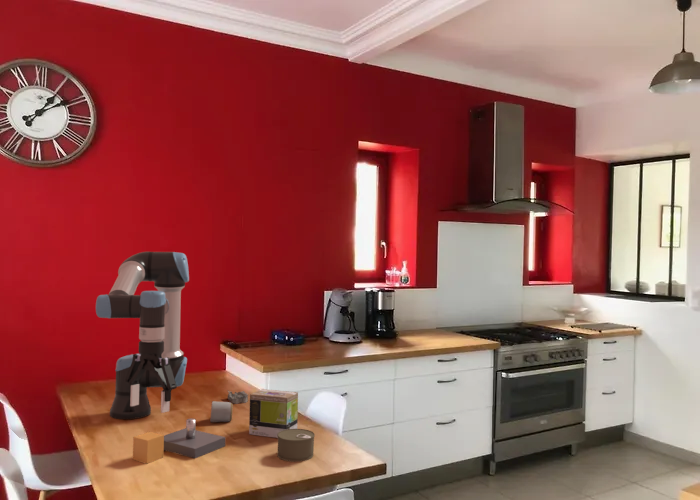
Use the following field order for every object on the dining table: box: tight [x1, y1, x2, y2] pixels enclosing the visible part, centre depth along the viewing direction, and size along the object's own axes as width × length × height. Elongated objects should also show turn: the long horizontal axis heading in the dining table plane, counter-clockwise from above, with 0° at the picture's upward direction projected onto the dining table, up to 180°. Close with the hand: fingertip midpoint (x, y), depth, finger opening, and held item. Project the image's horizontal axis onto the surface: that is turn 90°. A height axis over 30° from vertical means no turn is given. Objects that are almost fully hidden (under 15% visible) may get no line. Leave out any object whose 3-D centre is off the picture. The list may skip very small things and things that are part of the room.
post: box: [185, 418, 197, 439], centre depth 191 cm, size 3×3×6 cm
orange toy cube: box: [132, 431, 165, 464], centre depth 179 cm, size 6×6×7 cm
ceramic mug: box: [210, 400, 234, 423], centre depth 222 cm, size 11×8×8 cm
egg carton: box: [227, 390, 249, 405], centre depth 252 cm, size 11×8×4 cm
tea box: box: [248, 388, 299, 439], centre depth 207 cm, size 15×10×15 cm, turn 71°
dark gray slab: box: [163, 427, 227, 459], centre depth 191 cm, size 18×14×3 cm
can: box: [277, 428, 316, 463], centre depth 185 cm, size 12×12×7 cm
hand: (149, 408), depth 179 cm, fingers open, 13 cm apart
